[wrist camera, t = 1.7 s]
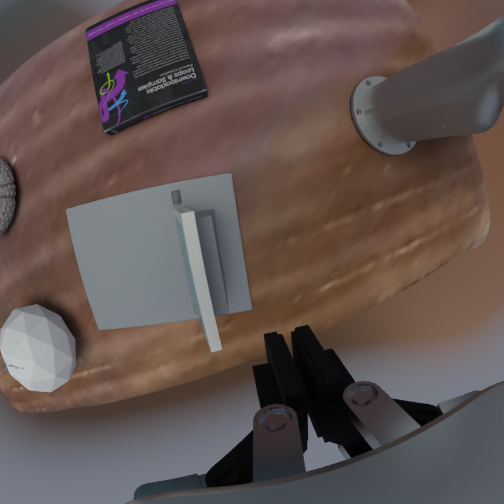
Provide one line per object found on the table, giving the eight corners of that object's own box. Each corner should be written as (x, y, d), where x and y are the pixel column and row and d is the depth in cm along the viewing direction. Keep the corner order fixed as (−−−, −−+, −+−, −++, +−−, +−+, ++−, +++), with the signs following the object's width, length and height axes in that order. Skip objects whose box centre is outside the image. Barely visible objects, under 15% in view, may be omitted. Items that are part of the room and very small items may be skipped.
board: (230, 173, 33) (235, 168, 24) (251, 306, 38) (261, 341, 29) (70, 208, 31) (32, 216, 22) (101, 326, 36) (77, 360, 27)
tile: (194, 211, 20) (180, 213, 20) (222, 349, 23) (210, 352, 23) (181, 206, 32) (173, 207, 32) (199, 298, 35) (192, 300, 35)
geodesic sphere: (33, 390, 31) (30, 427, 21) (-10, 325, 28) (-31, 344, 17) (87, 352, 40) (99, 378, 29) (47, 285, 36) (42, 291, 26)
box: (93, 37, 26) (111, 137, 31) (84, 28, 23) (101, 133, 27) (176, 3, 26) (209, 99, 31) (173, -10, 23) (207, 89, 28)
